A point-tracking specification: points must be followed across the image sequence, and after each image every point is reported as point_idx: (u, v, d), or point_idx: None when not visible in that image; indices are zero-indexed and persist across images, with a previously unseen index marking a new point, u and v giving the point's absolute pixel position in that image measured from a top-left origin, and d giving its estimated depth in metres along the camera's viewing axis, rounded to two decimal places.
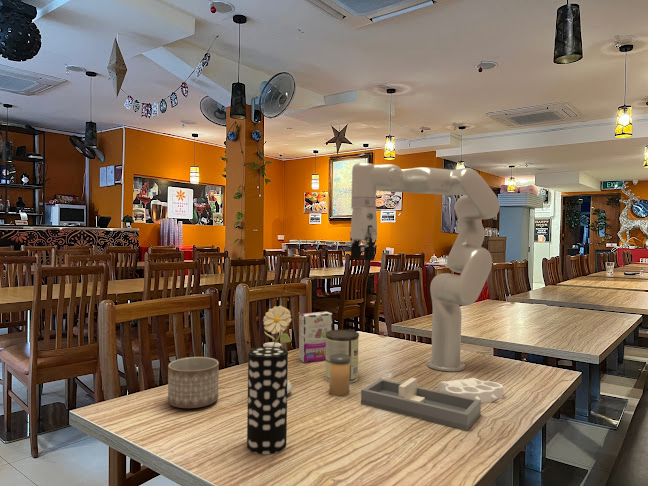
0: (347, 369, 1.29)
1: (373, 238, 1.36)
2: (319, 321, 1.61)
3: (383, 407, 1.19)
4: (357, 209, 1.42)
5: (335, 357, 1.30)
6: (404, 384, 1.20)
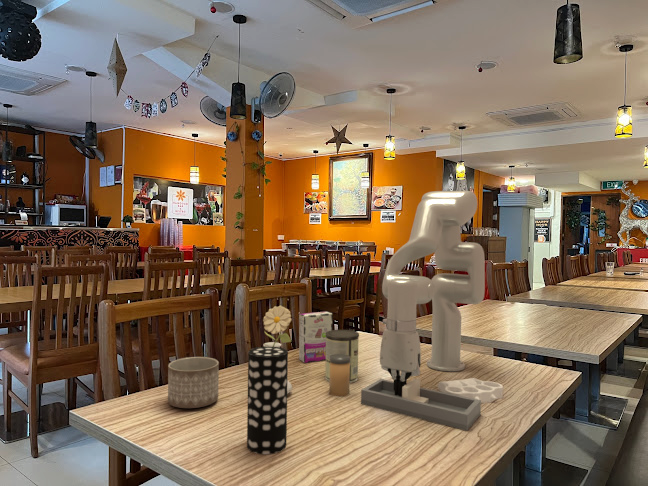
0: (347, 369, 1.29)
1: None
2: (319, 321, 1.61)
3: (383, 407, 1.19)
4: None
5: (335, 357, 1.30)
6: (408, 385, 1.19)
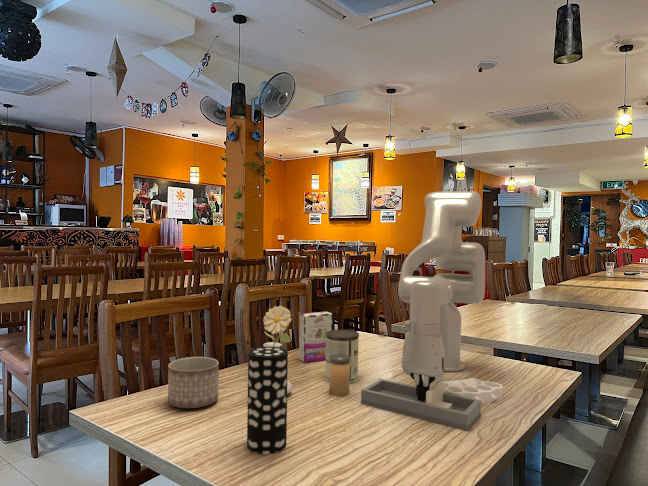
0: (347, 369, 1.29)
1: None
2: (319, 321, 1.61)
3: (383, 407, 1.19)
4: None
5: (335, 357, 1.30)
6: (431, 390, 1.16)
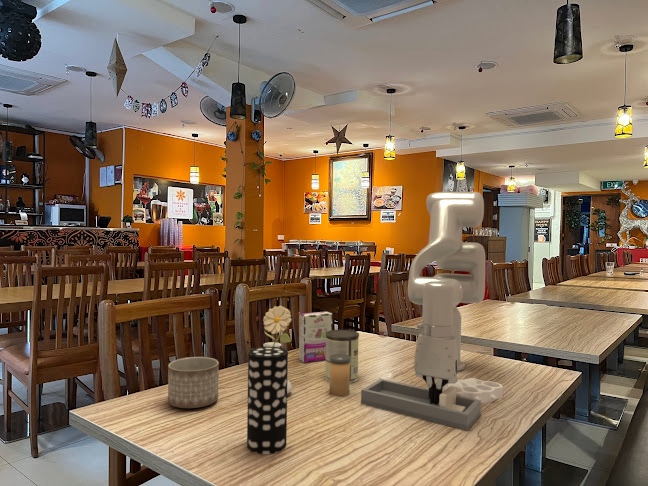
0: (347, 369, 1.29)
1: None
2: (319, 321, 1.61)
3: (383, 407, 1.19)
4: None
5: (335, 357, 1.30)
6: (445, 393, 1.14)
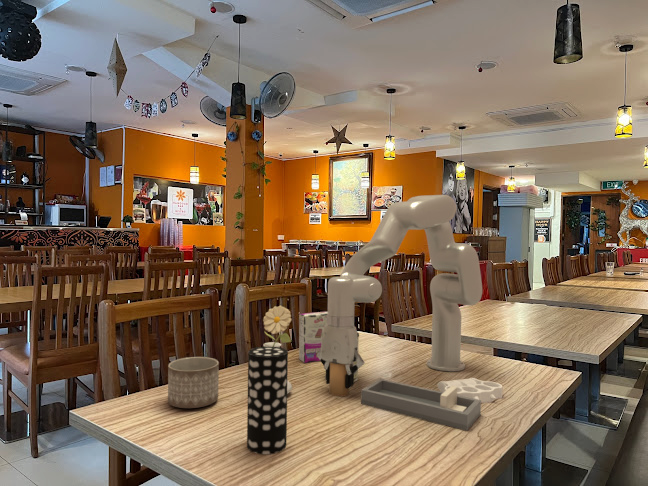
0: None
1: None
2: (319, 321, 1.61)
3: (383, 407, 1.19)
4: None
5: None
6: (445, 393, 1.14)
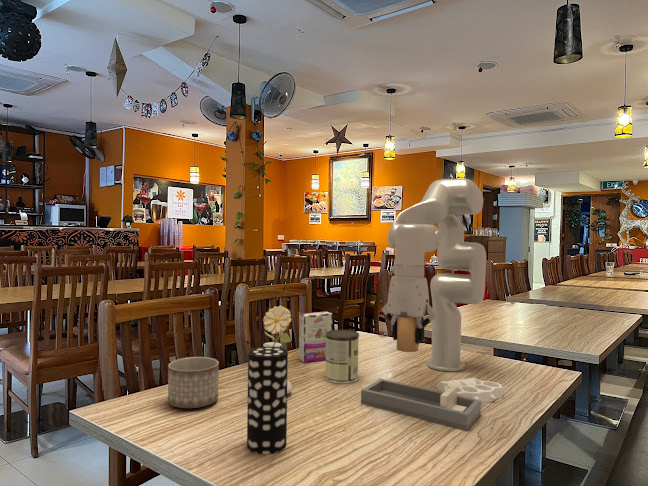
0: None
1: None
2: (319, 321, 1.61)
3: (383, 407, 1.19)
4: None
5: None
6: (445, 393, 1.14)
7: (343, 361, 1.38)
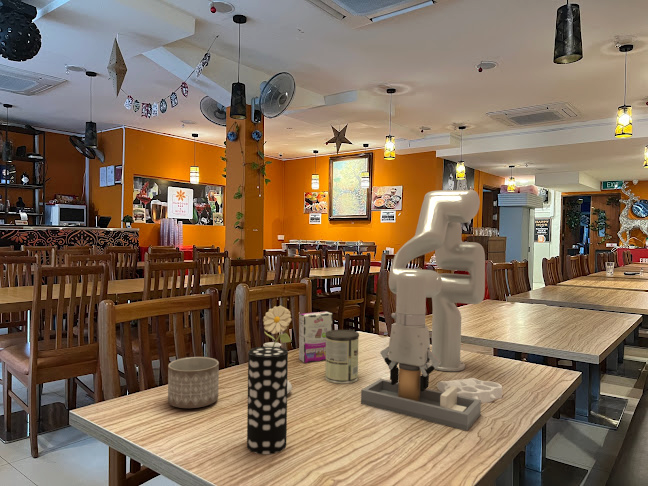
0: (419, 376, 1.20)
1: None
2: (319, 321, 1.61)
3: (383, 407, 1.19)
4: None
5: None
6: (445, 393, 1.14)
7: (343, 361, 1.38)
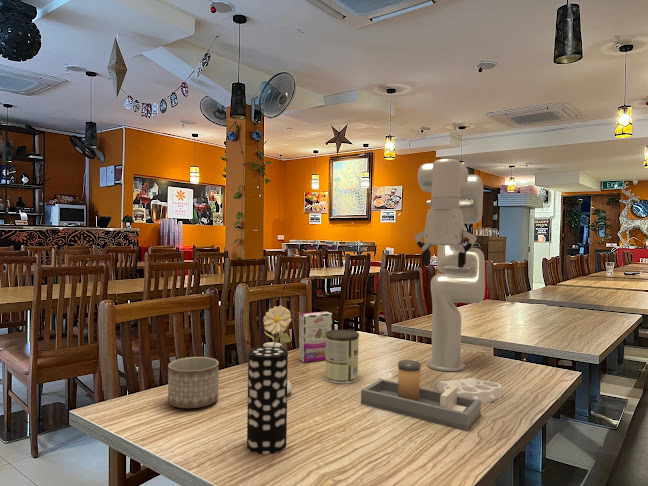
0: (418, 376, 1.20)
1: None
2: (319, 321, 1.61)
3: (383, 407, 1.19)
4: None
5: (405, 364, 1.20)
6: (445, 393, 1.14)
7: (343, 361, 1.38)
